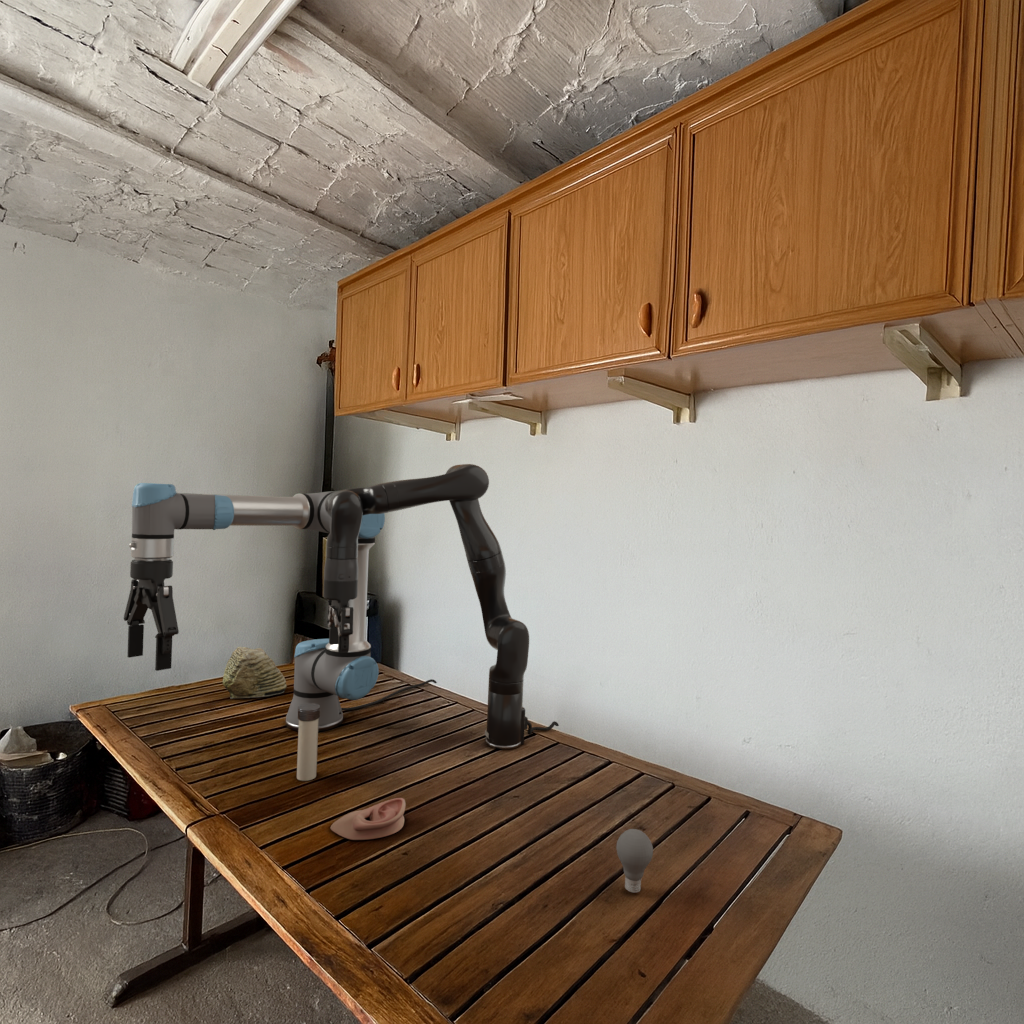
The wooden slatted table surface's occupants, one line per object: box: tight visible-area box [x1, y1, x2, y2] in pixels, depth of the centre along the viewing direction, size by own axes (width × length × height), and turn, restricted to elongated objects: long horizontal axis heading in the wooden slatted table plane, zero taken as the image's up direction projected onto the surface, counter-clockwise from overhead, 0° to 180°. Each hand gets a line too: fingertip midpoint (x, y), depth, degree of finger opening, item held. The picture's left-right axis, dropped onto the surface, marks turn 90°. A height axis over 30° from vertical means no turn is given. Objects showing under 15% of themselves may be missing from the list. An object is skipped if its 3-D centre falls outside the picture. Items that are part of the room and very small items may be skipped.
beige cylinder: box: [296, 718, 319, 782], centre depth 143 cm, size 4×4×16 cm
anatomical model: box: [330, 797, 407, 841], centre depth 123 cm, size 13×4×12 cm
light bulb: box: [615, 828, 654, 894], centre depth 106 cm, size 6×6×10 cm
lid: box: [298, 703, 320, 721], centre depth 143 cm, size 5×5×2 cm
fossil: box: [222, 646, 288, 699], centre depth 198 cm, size 9×18×15 cm, turn 132°
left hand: (148, 662), depth 129 cm, fingers open, 13 cm apart
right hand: (338, 648), depth 145 cm, fingers open, 8 cm apart
